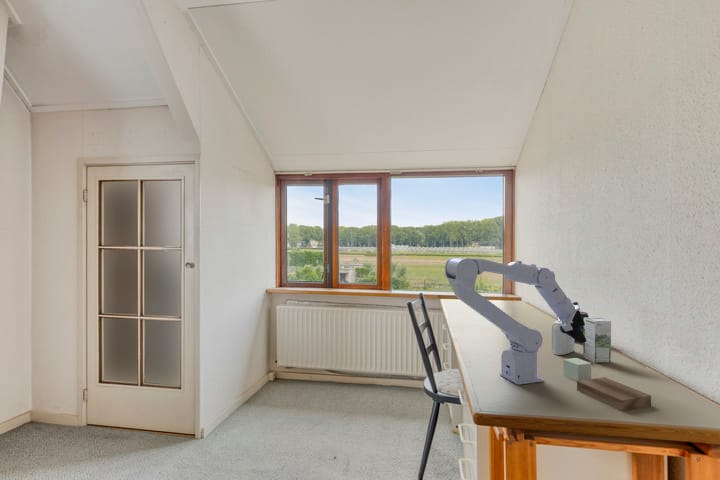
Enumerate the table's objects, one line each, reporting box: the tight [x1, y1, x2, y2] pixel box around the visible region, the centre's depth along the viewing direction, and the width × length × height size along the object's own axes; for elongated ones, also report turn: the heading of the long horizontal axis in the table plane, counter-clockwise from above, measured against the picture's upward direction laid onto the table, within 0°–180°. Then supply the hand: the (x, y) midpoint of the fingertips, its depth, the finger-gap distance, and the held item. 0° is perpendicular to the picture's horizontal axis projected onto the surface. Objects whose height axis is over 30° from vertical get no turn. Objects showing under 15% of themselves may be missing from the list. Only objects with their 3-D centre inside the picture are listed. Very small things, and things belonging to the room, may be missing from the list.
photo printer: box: [551, 320, 575, 356], centre depth 127 cm, size 10×4×12 cm, turn 123°
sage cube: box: [563, 357, 592, 382], centre depth 103 cm, size 5×5×5 cm
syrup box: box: [582, 316, 612, 364], centre depth 118 cm, size 6×6×14 cm
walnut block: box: [576, 376, 652, 412], centre depth 90 cm, size 10×12×3 cm
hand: (582, 333), depth 105 cm, fingers open, 7 cm apart
